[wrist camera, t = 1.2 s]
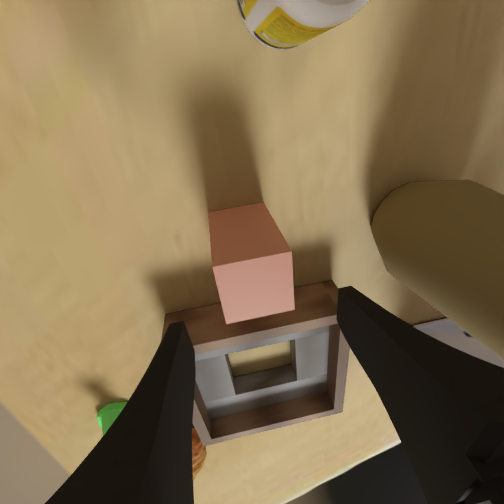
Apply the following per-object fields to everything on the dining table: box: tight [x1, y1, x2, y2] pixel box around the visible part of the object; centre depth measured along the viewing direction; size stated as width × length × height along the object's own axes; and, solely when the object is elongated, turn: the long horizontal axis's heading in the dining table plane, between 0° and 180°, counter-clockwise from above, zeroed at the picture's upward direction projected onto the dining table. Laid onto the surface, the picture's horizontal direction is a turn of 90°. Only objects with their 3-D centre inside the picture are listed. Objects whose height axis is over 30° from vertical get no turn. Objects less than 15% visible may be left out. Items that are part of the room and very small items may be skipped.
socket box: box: [161, 280, 350, 446], centre depth 26 cm, size 15×15×4 cm
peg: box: [208, 202, 295, 324], centre depth 17 cm, size 4×4×7 cm
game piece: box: [97, 402, 127, 436], centre depth 26 cm, size 4×4×6 cm
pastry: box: [192, 427, 206, 480], centre depth 33 cm, size 9×7×4 cm
